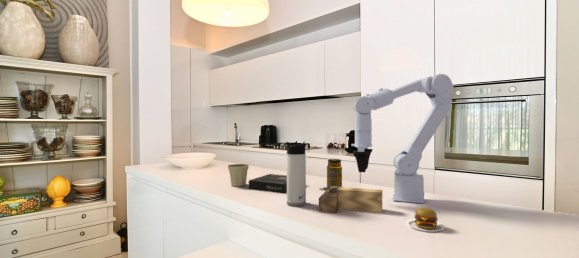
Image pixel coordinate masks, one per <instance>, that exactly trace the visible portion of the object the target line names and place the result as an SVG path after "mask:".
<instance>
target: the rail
mask: <svg viewBox="0 0 579 258" xmlns="http://www.w3.org/2000/svg"><path fill="white" fill-rule="evenodd" d="M332 193H338V210H349V211H350V210H352V211H360V212H361V211H362V212H372V213H383V189H375V188H374V189H373V188H372V189H371V188H359V187H358V188H357V187H344V186H342V187H339V186H333V188H332Z"/></svg>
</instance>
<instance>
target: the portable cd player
mask: <svg viewBox="0 0 579 258" xmlns="http://www.w3.org/2000/svg"><path fill="white" fill-rule="evenodd" d="M248 190H252V191H253V190H254V191H261V192H267V193H269V192H271V193H276V194H277V193H278V194H287V174H286V175H284V174H274V173H269V174H265V175H261V176H259V177H256V178H252V179H249V180H248Z"/></svg>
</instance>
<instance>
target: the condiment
mask: <svg viewBox="0 0 579 258" xmlns="http://www.w3.org/2000/svg"><path fill="white" fill-rule="evenodd" d="M331 186H339V187H343V167H342V160H341V159H340V158H329V159H328V160H327V166H326V186H325V187H324V186H323V187H322V188H321V187H319V190H322V191H324V192H325V191H326V190H327V189H329V188H330V187H331Z"/></svg>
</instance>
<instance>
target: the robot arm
mask: <svg viewBox="0 0 579 258" xmlns="http://www.w3.org/2000/svg"><path fill="white" fill-rule="evenodd" d="M454 88H455V86H454V84H453V82H452V79H451V78H450V77H449V75H448V74H444V73H439V74H436V75H434V76H433V75H431V76H427V77H423V78H419V79H416V80H414V81H411V82H409V83H407V84H404V85H401V86H399V87H397V88H394V89H392V90H391V89H390V88H383V87H381V88H379V89H378V91H376V92H373V93H371V94H370V93H366V94H365V96H364V95H363V96H361V97H360V98H358V99H357V100H356V101H355V102H354V103H353V104H354V105H353V109H354V111H355V114H354V117H355V118H354V143H351V147H355V148H357V149H356V150H353V152H352V153H353V156H354V158H355V161H356V166H357V170H358V173H366V171H367V169H368V167H369V162H370V161H369V160H370V156H371V154H372V152H373V149H372V147H373V144H372V141H373V139H372V137H373V136H372V135H373V134H372V133H373V132H372V129H373V127H372V126H373V125H372V124H373V123H372V122H373V121H372V110H373V111H376V110H378V109H379V110H380V109H382V108H384V107H387V106H390V105H392V104H393V103H394V100H395V99H398V98H401V97H403V96H406V95H409V94H413V93H415V92H417V93H421V94H422V93H424V94H425V95H426V97H428V99H429V100H430V102H431V106H432V107H431V108H430V110H429V111H428V113H427V114H426V116H425V118H424V119H423V121H422V122H421V124H420V126H419V127H418V128H417V130H416V132H415V133H414V135H413V136H412V138H411V139H410V141H409V143H408V144H407V145H406V146H405V147H404V148H403V149H402V150H401V151H400V153H398V154H396V155H395V156H394V157H393V162H392V163H393V165H394V167H395V171H394V191H393V192H394V193H393V196H392V199H393V202H402V203H403V202H404V203H405V202H406V203H417V204H418V203H419V204H424V197H425V191H424V190H425V189H424V188H425V187H424V184H425V183H424V175H423V174H418V170H419V166H420V162H421V160H422V159H423V158H422V157H423V151H425V149H426V148H427V146H428V144H429V142H430V141H431V139H432V138H433V137H434V135H435V133H436V131H437V130H438V128H439V127H440V125H441V123H442V122H443V121H444V119H445V118H446V116H447V114H448V113H449V111H450V110H451V108H452V100H453V99H452V98H453V97H452V95H453V90H454Z"/></svg>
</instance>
